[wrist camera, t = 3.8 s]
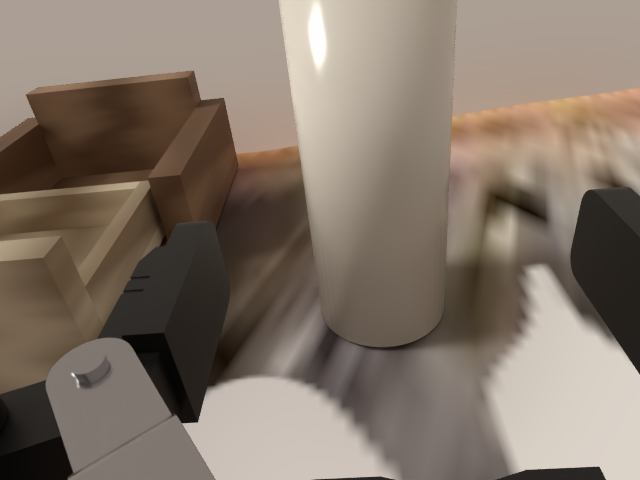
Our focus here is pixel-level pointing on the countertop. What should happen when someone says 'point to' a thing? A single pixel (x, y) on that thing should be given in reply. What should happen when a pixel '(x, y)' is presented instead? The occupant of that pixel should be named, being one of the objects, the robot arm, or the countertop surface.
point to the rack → (127, 143)
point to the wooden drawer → (66, 269)
